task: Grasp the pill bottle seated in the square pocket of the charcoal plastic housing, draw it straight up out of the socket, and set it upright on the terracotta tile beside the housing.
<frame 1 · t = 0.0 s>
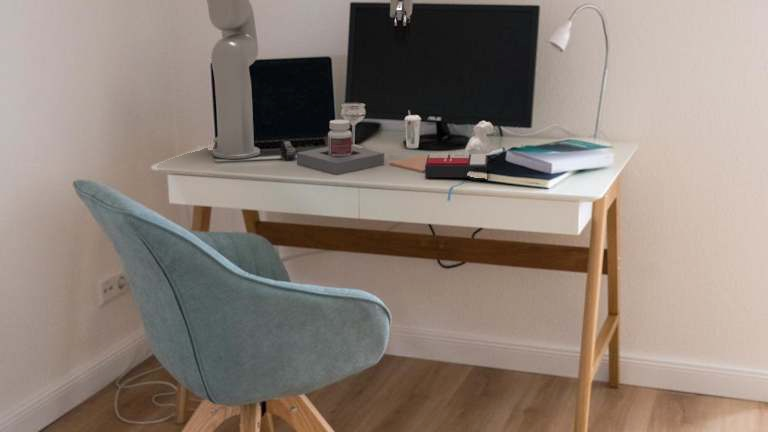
hand: (402, 39, 247), 31 cm above the table, tool pointing down, fingers open, 9 cm apart
pill bottle: (340, 165, 250), resting in housing
wristwatch: (288, 160, 256), on the table
milkshake: (411, 147, 270), on the table
housing: (340, 164, 250), on the table
wineglass: (353, 148, 270), on the table
tile: (422, 164, 249), on the table
bust: (478, 159, 256), on the table
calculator: (456, 173, 239), on the table, touching tile
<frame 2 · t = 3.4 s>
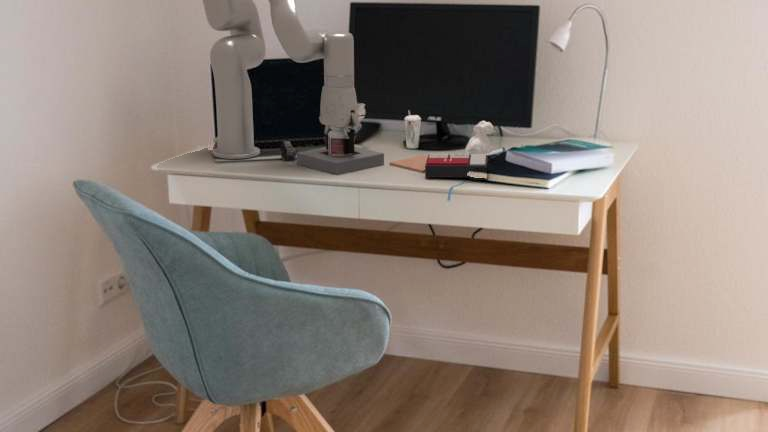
hand: (340, 150, 249), 4 cm above the table, tool pointing down, fingers closed on pill bottle, 6 cm apart
pill bottle: (340, 165, 250), resting in housing, touching gripper
everything else where it was.
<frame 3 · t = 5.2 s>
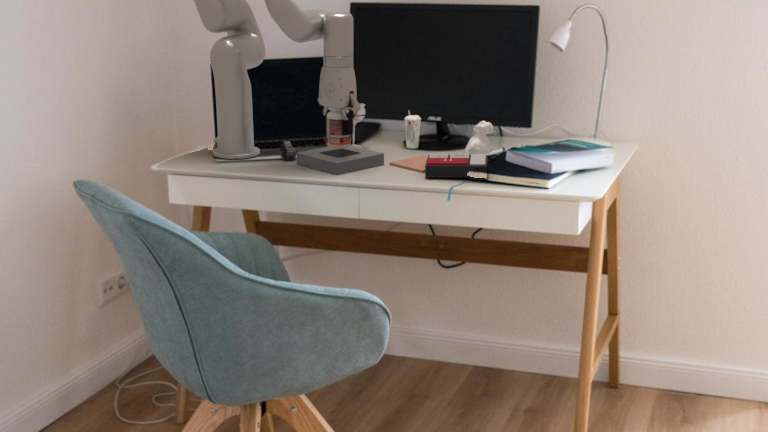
hand: (338, 132, 248), 8 cm above the table, tool pointing down, fingers closed on pill bottle, 6 cm apart
pill bottle: (338, 146, 249), point 5 cm above the table, touching gripper
everything else where it was.
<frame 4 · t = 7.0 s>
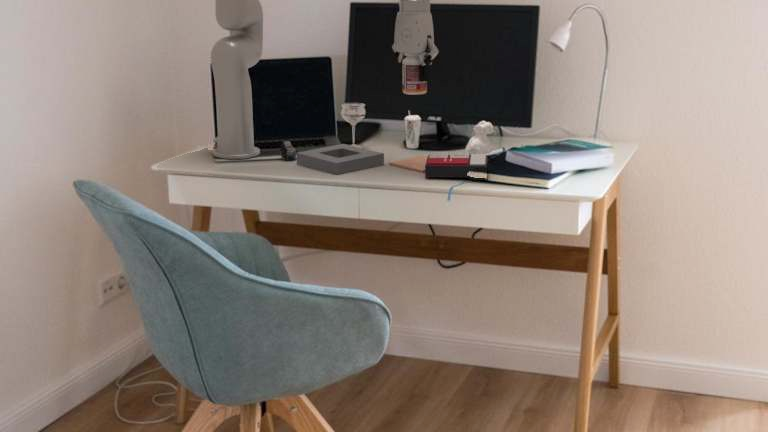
hand: (414, 78, 243), 22 cm above the table, tool pointing down, fingers closed on pill bottle, 6 cm apart
pill bottle: (414, 94, 244), point 18 cm above the table, touching gripper
everything else where it was.
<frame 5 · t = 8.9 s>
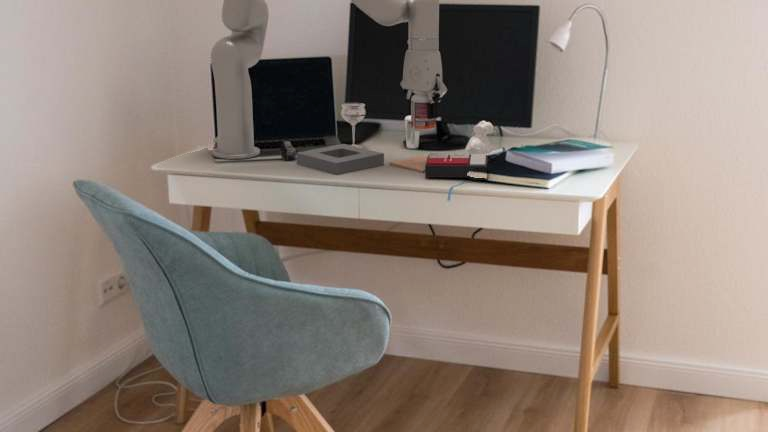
hand: (423, 115, 246), 13 cm above the table, tool pointing down, fingers closed on pill bottle, 6 cm apart
pill bottle: (422, 130, 247), point 9 cm above the table, touching gripper
everything else where it was.
when the fingers open (6 cm above the table, at t = 10.7 s): pill bottle drops 1 cm, resting on tile.
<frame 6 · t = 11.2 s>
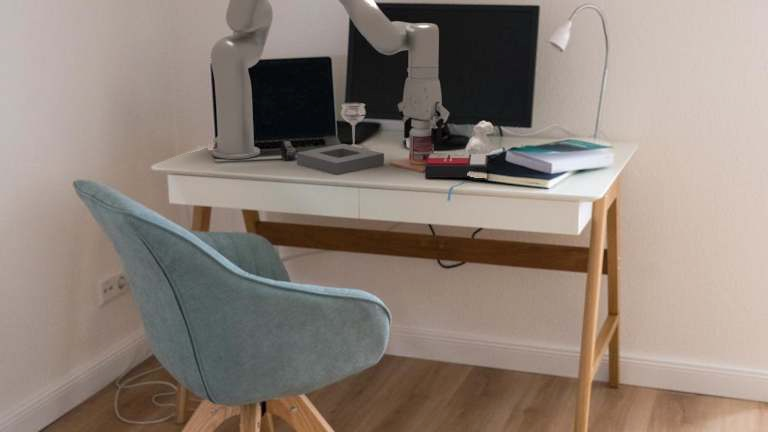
hand: (422, 140, 247), 7 cm above the table, tool pointing down, fingers open, 9 cm apart
pill bottle: (421, 163, 249), resting on tile
everything else where it was.
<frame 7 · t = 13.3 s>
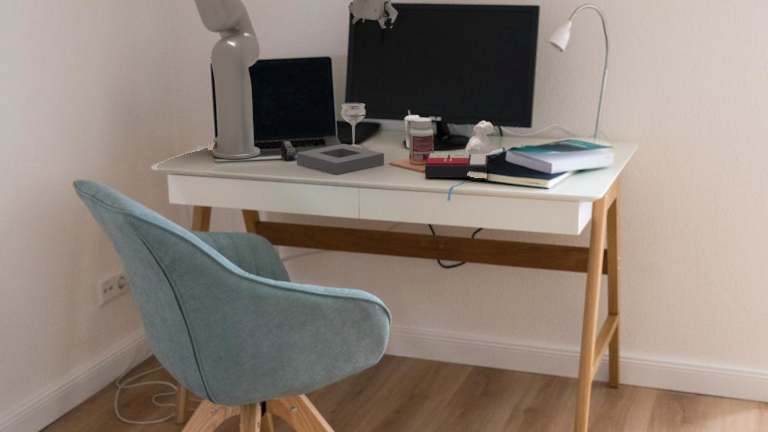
hand: (371, 41, 246), 31 cm above the table, tool pointing down, fingers open, 9 cm apart
nothing on the table moved.
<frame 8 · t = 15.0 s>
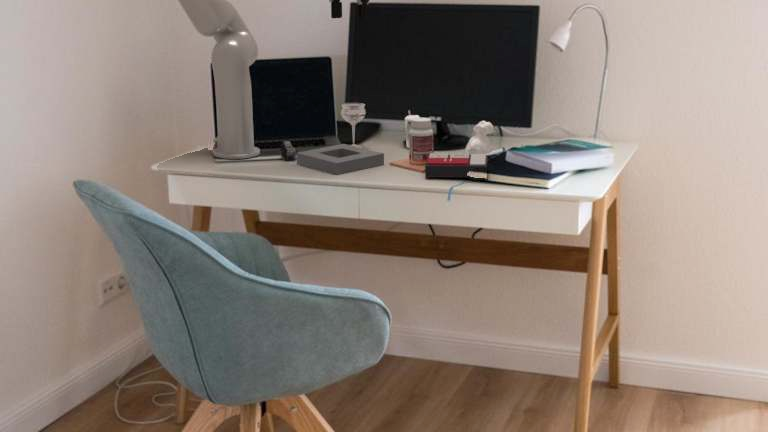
hand: (349, 19, 247), 36 cm above the table, tool pointing down, fingers open, 9 cm apart
nothing on the table moved.
at the end: pill bottle inside the target area on the tile (0.4 cm from its centre), point 0.4 cm above the tile's base; pill bottle tilted 0°; the gripper is holding nothing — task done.
